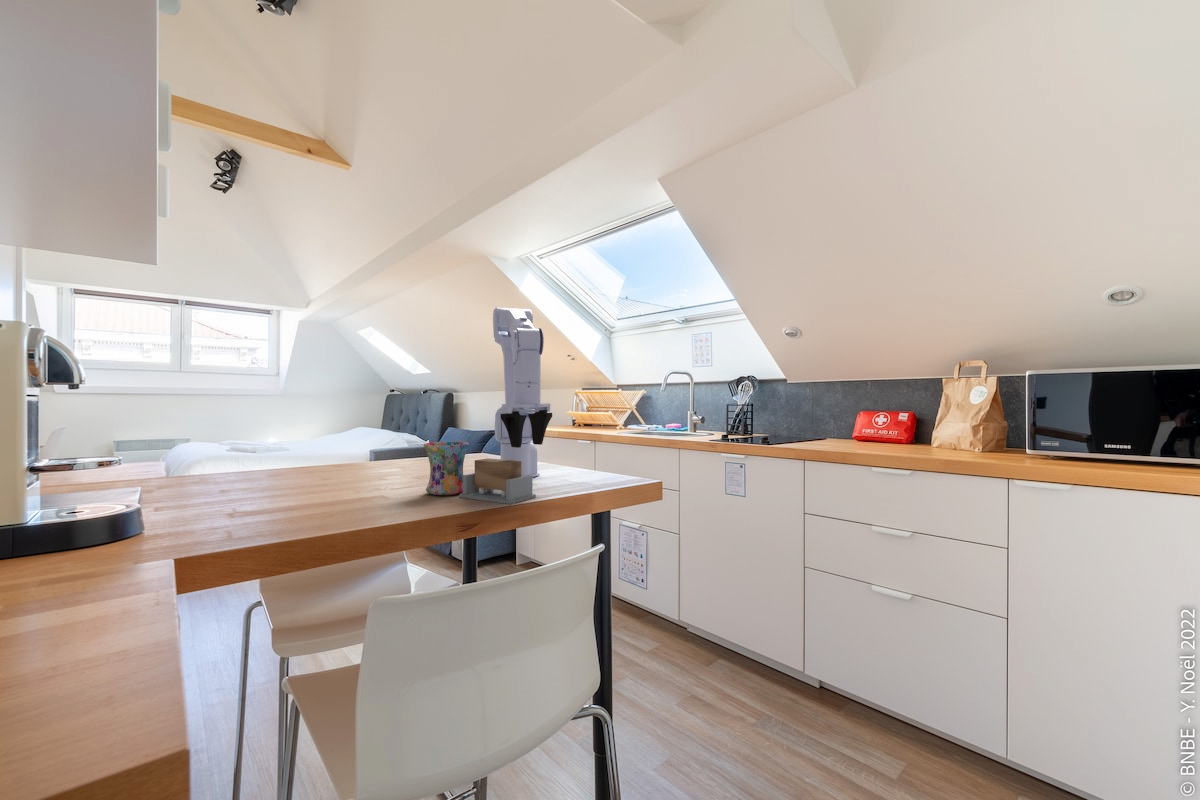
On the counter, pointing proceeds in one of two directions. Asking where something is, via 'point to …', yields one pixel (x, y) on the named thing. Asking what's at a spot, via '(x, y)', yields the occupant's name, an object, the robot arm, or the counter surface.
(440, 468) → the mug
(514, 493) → the peg cradle
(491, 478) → the shelf block
